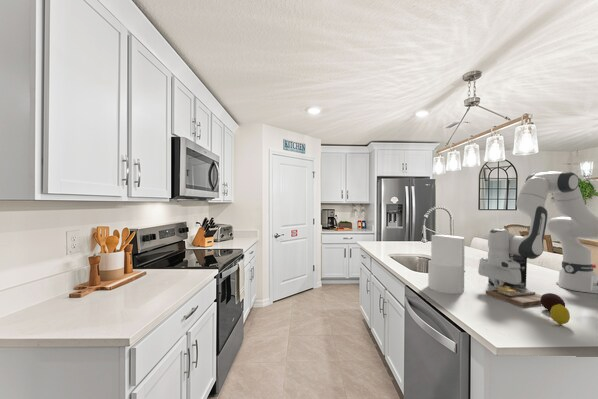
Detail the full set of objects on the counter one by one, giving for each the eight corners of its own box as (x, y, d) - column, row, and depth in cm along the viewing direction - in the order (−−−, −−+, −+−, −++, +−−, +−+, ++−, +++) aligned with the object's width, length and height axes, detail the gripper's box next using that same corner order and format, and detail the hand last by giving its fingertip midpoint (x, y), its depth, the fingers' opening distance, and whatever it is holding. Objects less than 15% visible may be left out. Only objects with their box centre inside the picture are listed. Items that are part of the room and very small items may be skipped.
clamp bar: (528, 292, 142) (528, 290, 142) (535, 294, 140) (535, 292, 140) (503, 293, 138) (503, 291, 138) (510, 295, 135) (510, 293, 135)
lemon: (546, 322, 112) (546, 301, 112) (559, 321, 112) (559, 301, 112) (560, 328, 106) (560, 306, 106) (574, 328, 107) (574, 306, 107)
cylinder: (440, 282, 166) (440, 234, 166) (470, 290, 151) (471, 237, 152) (421, 286, 157) (421, 235, 157) (452, 295, 142) (452, 239, 143)
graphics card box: (519, 284, 163) (519, 236, 163) (528, 288, 156) (528, 238, 156) (487, 283, 165) (488, 236, 165) (494, 287, 158) (495, 237, 158)
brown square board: (514, 291, 151) (514, 287, 151) (553, 303, 133) (553, 298, 133) (485, 294, 145) (485, 290, 145) (522, 307, 128) (522, 302, 128)
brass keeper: (504, 291, 142) (504, 285, 142) (516, 295, 137) (516, 288, 137) (497, 292, 141) (498, 285, 141) (510, 296, 135) (510, 289, 135)
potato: (547, 314, 120) (547, 296, 120) (535, 306, 128) (535, 289, 129) (570, 316, 117) (570, 298, 117) (557, 308, 126) (557, 291, 126)
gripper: (475, 257, 152) (475, 283, 152) (513, 265, 133) (513, 295, 133) (484, 256, 154) (484, 282, 154) (523, 265, 134) (523, 294, 134)
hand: (498, 288), depth 143 cm, fingers closed
